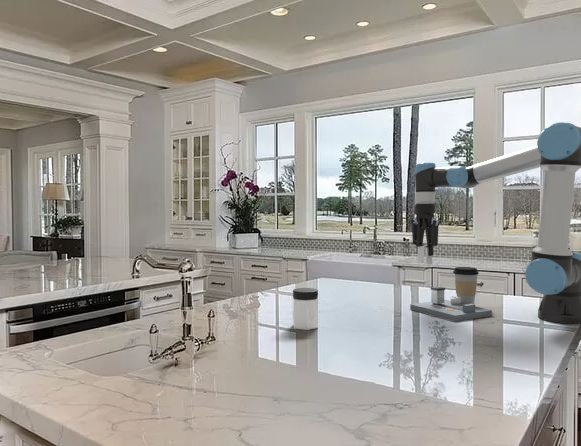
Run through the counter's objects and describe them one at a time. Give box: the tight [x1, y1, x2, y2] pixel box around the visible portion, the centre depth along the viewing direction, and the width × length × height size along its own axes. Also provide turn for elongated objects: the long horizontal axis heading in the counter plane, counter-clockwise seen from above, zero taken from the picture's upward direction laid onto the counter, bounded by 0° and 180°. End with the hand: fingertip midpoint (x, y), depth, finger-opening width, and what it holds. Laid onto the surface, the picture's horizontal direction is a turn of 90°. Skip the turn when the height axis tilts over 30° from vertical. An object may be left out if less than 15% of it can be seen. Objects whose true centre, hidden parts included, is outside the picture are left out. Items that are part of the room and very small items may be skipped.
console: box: [409, 295, 493, 322], centre depth 179 cm, size 22×18×5 cm
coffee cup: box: [452, 266, 479, 304], centre depth 188 cm, size 9×9×15 cm
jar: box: [292, 287, 319, 331], centre depth 158 cm, size 9×8×12 cm
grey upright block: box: [430, 286, 446, 304], centre depth 184 cm, size 3×4×6 cm
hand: (424, 263), depth 190 cm, fingers open, 4 cm apart
